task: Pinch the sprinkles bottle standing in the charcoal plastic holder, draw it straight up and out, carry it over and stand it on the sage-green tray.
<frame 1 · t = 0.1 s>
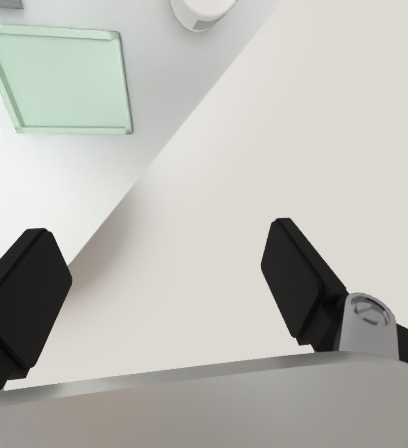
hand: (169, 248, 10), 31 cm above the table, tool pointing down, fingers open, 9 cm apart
tray: (67, 85, 31), on the table
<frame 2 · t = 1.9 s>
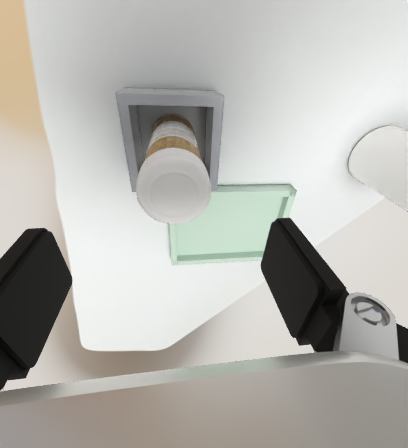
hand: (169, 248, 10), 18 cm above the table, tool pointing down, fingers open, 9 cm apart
white bottle: (372, 153, 28), on the table
sprinkles bottle: (173, 135, 24), resting in holder
holder: (173, 135, 24), on the table
tray: (226, 223, 32), on the table
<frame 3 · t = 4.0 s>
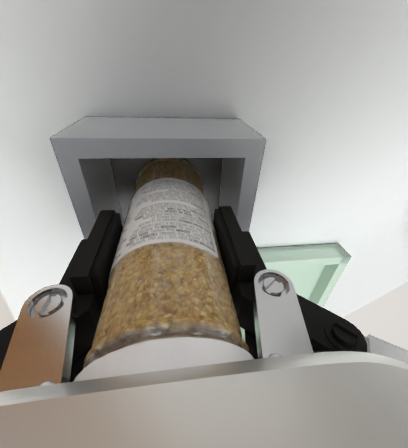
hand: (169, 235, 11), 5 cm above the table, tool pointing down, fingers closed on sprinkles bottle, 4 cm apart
sprinkles bottle: (169, 185, 15), resting in holder, touching gripper
holder: (169, 187, 15), on the table
tray: (244, 292, 23), on the table
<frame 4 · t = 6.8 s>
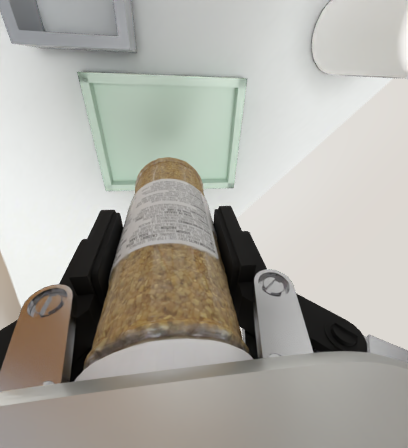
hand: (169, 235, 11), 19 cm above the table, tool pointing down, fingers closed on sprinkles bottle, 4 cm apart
white bottle: (341, 35, 23), on the table
sprinkles bottle: (169, 186, 15), point 13 cm above the table, touching gripper
tray: (169, 136, 26), on the table
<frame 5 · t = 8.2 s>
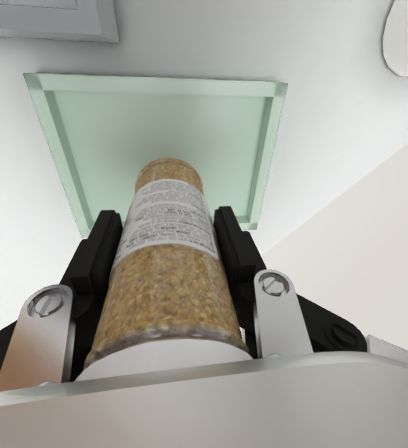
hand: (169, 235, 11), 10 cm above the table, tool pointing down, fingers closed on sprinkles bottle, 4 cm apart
sprinkles bottle: (169, 186, 15), point 4 cm above the table, touching gripper
tray: (169, 163, 19), on the table
when the fingers open (7 cm above the table, at t = 9.5 s): sprinkles bottle drops 1 cm, resting on tray.
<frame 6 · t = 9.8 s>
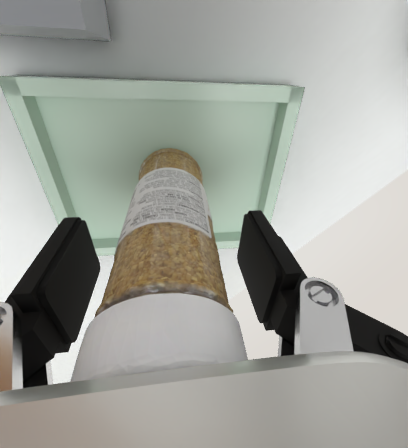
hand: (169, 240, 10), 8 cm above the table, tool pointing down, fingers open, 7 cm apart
sprinkles bottle: (171, 175, 16), resting on tray
tray: (169, 175, 17), on the table
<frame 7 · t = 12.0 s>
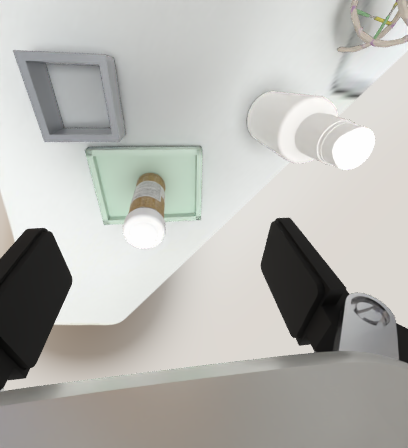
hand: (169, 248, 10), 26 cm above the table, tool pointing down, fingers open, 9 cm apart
white bottle: (268, 117, 33), on the table
sprinkles bottle: (151, 184, 35), resting on tray
dna model: (351, 23, 28), on the table
holder: (85, 98, 28), on the table
tray: (150, 184, 36), on the table
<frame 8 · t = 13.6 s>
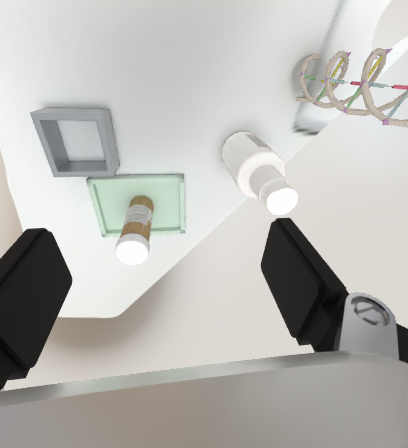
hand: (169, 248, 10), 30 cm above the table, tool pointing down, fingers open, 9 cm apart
white bottle: (239, 151, 39), on the table
sprinkles bottle: (142, 204, 42), resting on tray
dna model: (306, 78, 34), on the table
holder: (86, 139, 35), on the table
tray: (141, 204, 42), on the table
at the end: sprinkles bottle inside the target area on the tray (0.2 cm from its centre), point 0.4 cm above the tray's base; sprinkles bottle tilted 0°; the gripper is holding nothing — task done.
